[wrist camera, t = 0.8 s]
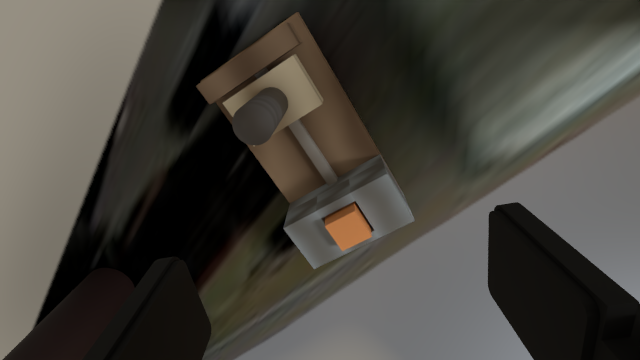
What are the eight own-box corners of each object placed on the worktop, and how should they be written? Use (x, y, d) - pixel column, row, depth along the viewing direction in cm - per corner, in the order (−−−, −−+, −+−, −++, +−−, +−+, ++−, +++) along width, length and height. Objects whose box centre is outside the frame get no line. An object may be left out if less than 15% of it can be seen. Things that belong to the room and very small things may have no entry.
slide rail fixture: (298, 12, 33) (289, 8, 26) (402, 190, 40) (414, 220, 34) (205, 79, 36) (177, 89, 29) (317, 233, 43) (314, 268, 37)
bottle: (94, 301, 50) (-47, 459, 31) (84, 264, 47) (-77, 413, 28) (139, 305, 49) (25, 465, 31) (132, 268, 47) (1, 420, 28)
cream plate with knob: (295, 53, 32) (278, 63, 22) (323, 99, 33) (318, 126, 24) (229, 98, 34) (188, 124, 24) (258, 139, 35) (230, 179, 26)
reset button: (353, 196, 35) (355, 210, 32) (369, 221, 36) (372, 236, 33) (325, 211, 36) (324, 226, 33) (341, 234, 37) (342, 251, 34)
